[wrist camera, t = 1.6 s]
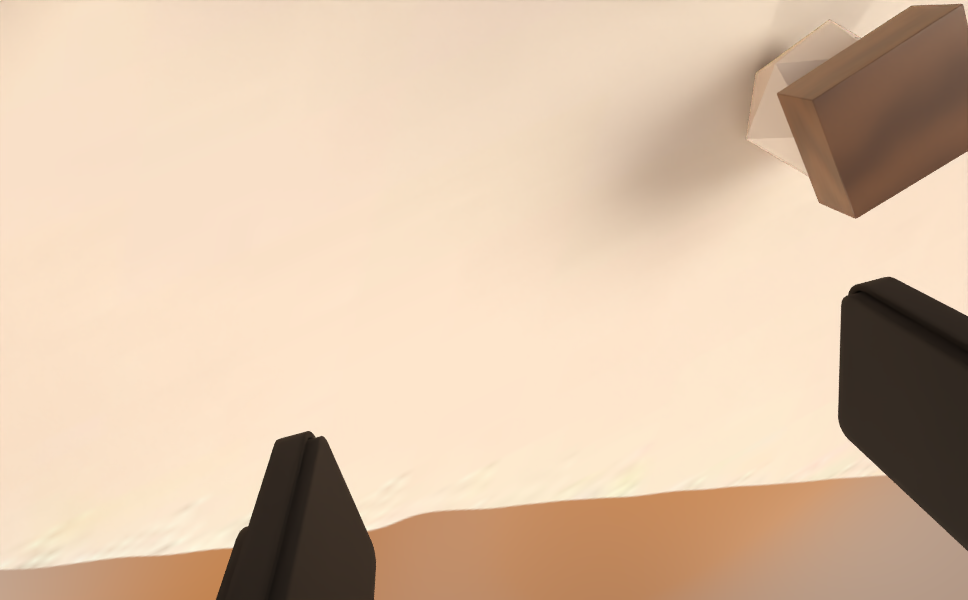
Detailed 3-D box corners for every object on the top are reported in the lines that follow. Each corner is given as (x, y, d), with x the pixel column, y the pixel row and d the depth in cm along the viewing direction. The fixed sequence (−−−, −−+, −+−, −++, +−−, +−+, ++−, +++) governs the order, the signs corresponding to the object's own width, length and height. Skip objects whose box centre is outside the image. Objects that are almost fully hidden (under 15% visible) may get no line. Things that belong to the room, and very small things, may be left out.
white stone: (850, 122, 45) (966, 37, 36) (803, 216, 43) (913, 152, 34) (753, 64, 46) (841, -36, 36) (701, 154, 44) (780, 74, 34)
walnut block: (775, 93, 35) (812, 100, 32) (911, 4, 34) (963, 3, 31) (818, 203, 38) (855, 219, 35) (943, 126, 37) (993, 135, 34)
